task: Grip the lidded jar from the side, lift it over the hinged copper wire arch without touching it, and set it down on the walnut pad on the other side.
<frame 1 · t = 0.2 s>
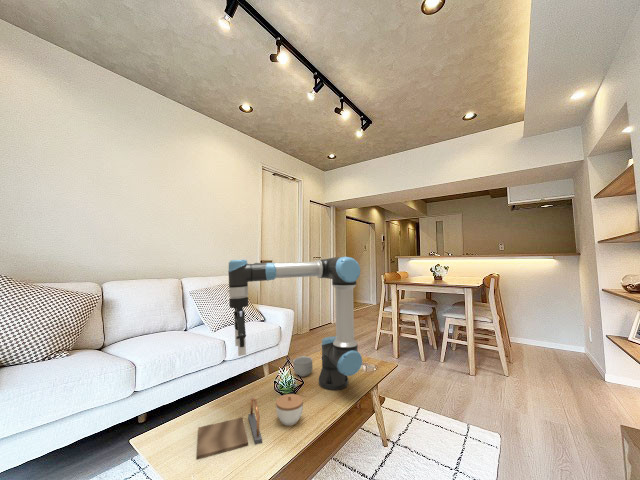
hand: (240, 350, 108), 27 cm above the table, tool pointing down, fingers open, 13 cm apart
lidded jar: (289, 421, 105), on the table
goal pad: (222, 437, 95), on the table
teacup: (303, 373, 149), on the table
buzz wire: (254, 409, 100), point 7 cm above the table, hinge at 0.0°
wire stand: (254, 429, 100), on the table
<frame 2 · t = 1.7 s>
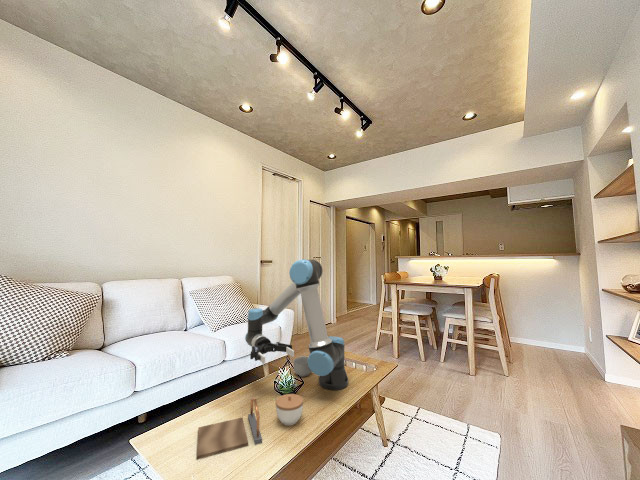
hand: (279, 357, 115), 22 cm above the table, tool horizontal, fingers open, 13 cm apart
nothing on the table moved.
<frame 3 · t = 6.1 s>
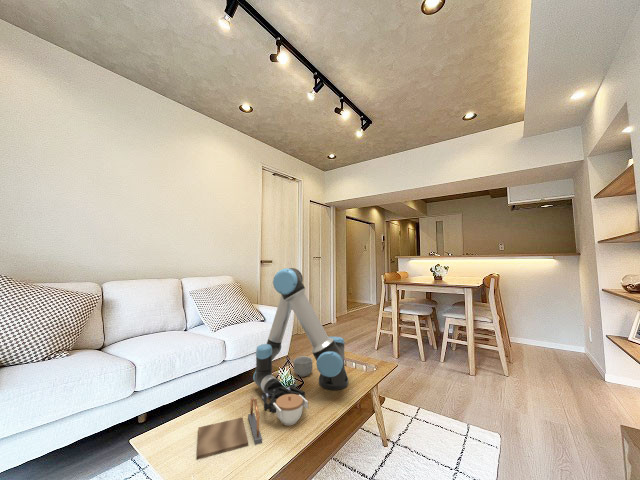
hand: (294, 409, 102), 6 cm above the table, tool horizontal, fingers closed on lidded jar, 11 cm apart
lidded jar: (289, 421, 105), on the table, touching gripper
everything else where it was.
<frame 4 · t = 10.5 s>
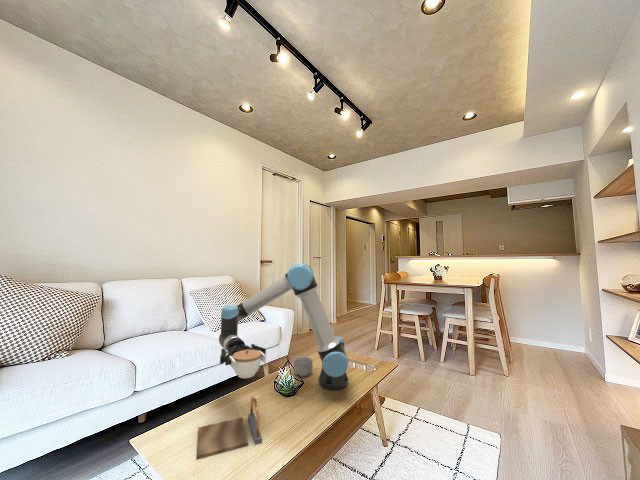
hand: (250, 362, 99), 26 cm above the table, tool horizontal, fingers closed on lidded jar, 11 cm apart
lidded jar: (246, 375, 102), point 19 cm above the table, touching gripper
everything else where it was.
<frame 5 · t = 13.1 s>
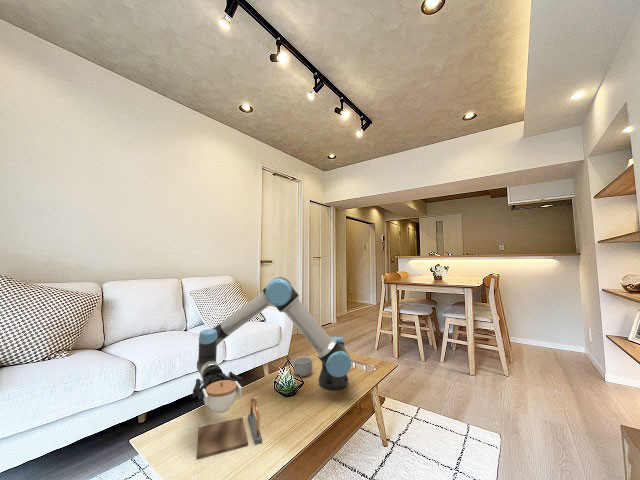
hand: (224, 396, 93), 16 cm above the table, tool horizontal, fingers closed on lidded jar, 11 cm apart
lidded jar: (220, 409, 96), point 10 cm above the table, touching gripper
everything else where it was.
when the fingers open (8 cm above the table, at t = 15.1 s): lidded jar drops 1 cm, resting on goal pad.
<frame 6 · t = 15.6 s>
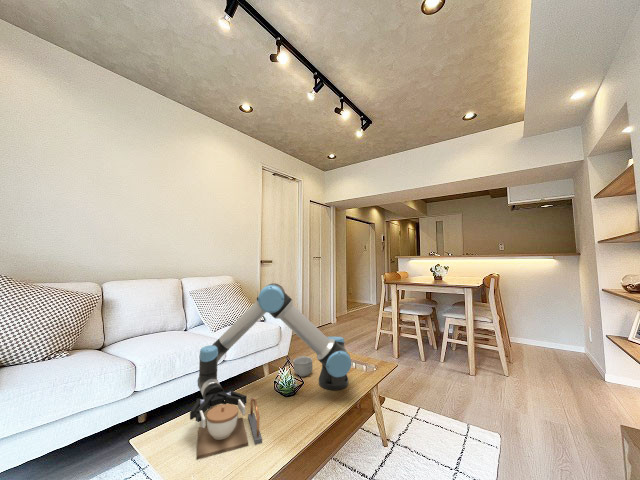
hand: (224, 417, 93), 8 cm above the table, tool horizontal, fingers open, 13 cm apart
lidded jar: (222, 434, 95), point 1 cm above the table, touching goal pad
everything else where it was.
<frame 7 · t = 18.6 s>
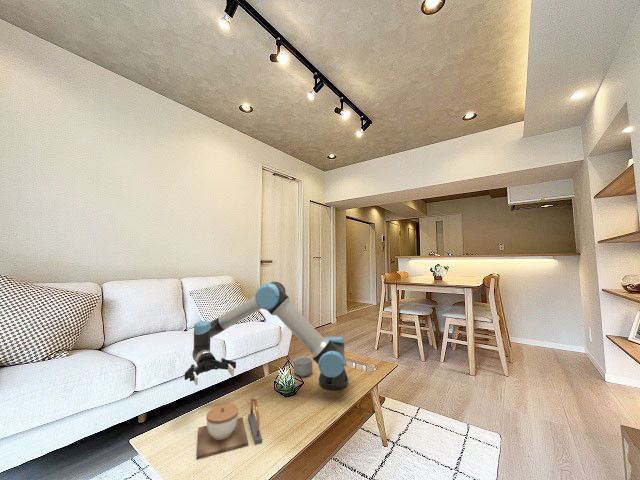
hand: (215, 376, 105), 18 cm above the table, tool horizontal, fingers open, 13 cm apart
nothing on the table moved.
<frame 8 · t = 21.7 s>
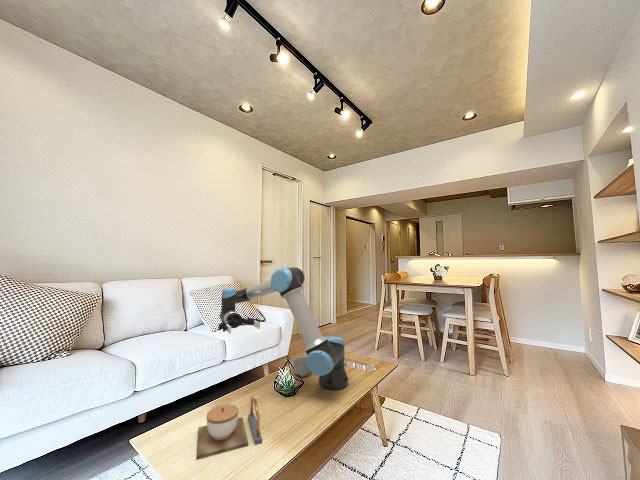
hand: (245, 327, 124), 32 cm above the table, tool horizontal, fingers open, 13 cm apart
nothing on the table moved.
at the end: lidded jar inside the target area on the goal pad (0.1 cm from its centre), point 0.8 cm above the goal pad's base; lidded jar tilted 0°; buzz wire at +0° (first picture: +0°) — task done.
